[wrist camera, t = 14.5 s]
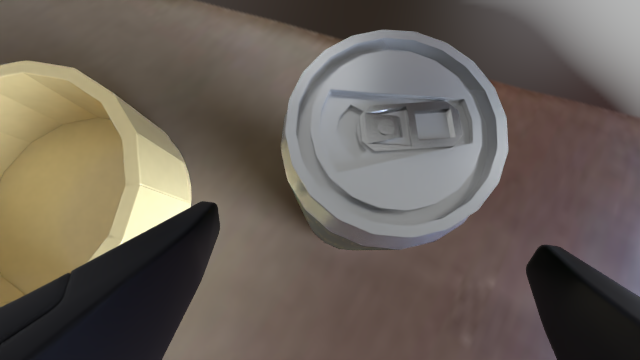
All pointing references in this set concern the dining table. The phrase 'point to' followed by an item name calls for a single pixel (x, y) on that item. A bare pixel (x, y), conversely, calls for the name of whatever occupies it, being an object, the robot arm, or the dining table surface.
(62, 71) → the pot
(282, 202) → the dining table surface
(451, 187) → the beer can
